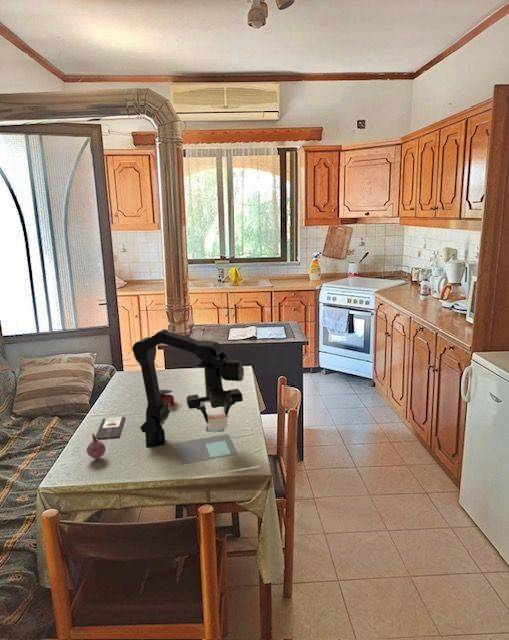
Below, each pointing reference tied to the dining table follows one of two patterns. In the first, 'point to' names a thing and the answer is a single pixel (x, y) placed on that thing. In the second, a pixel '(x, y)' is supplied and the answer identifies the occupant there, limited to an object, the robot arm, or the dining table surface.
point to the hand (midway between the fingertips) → (216, 421)
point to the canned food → (167, 397)
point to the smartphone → (214, 430)
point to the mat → (205, 449)
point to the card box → (216, 418)
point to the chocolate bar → (110, 428)
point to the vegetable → (95, 448)
